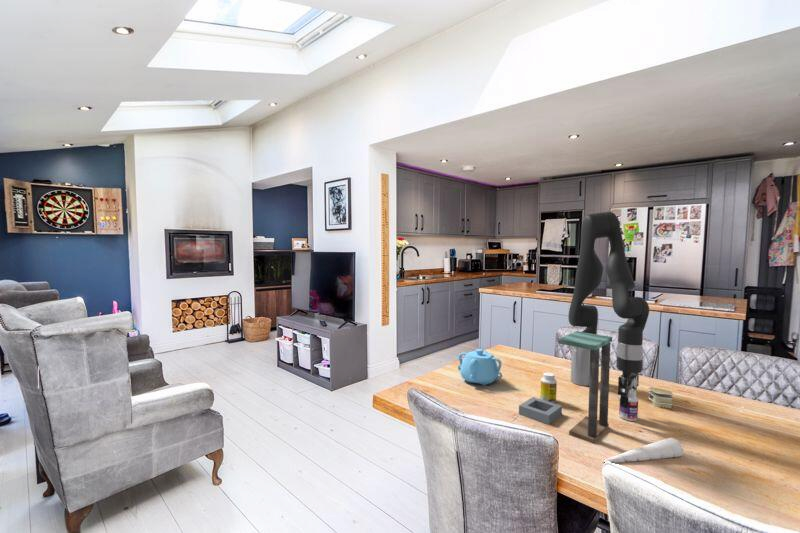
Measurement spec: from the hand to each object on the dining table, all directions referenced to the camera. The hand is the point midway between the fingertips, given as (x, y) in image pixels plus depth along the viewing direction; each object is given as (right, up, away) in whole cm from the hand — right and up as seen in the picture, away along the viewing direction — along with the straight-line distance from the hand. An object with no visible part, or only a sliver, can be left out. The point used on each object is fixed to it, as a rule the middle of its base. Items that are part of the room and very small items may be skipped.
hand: (628, 403), depth 125 cm
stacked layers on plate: (+18, -5, +11) cm, 22 cm away
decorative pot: (-43, -3, +35) cm, 56 cm away
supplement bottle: (-21, -5, +14) cm, 26 cm away
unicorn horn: (-10, -7, -23) cm, 26 cm away
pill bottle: (0, -5, +1) cm, 5 cm away
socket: (-28, -5, +3) cm, 29 cm away
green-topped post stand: (-19, -6, -7) cm, 21 cm away
